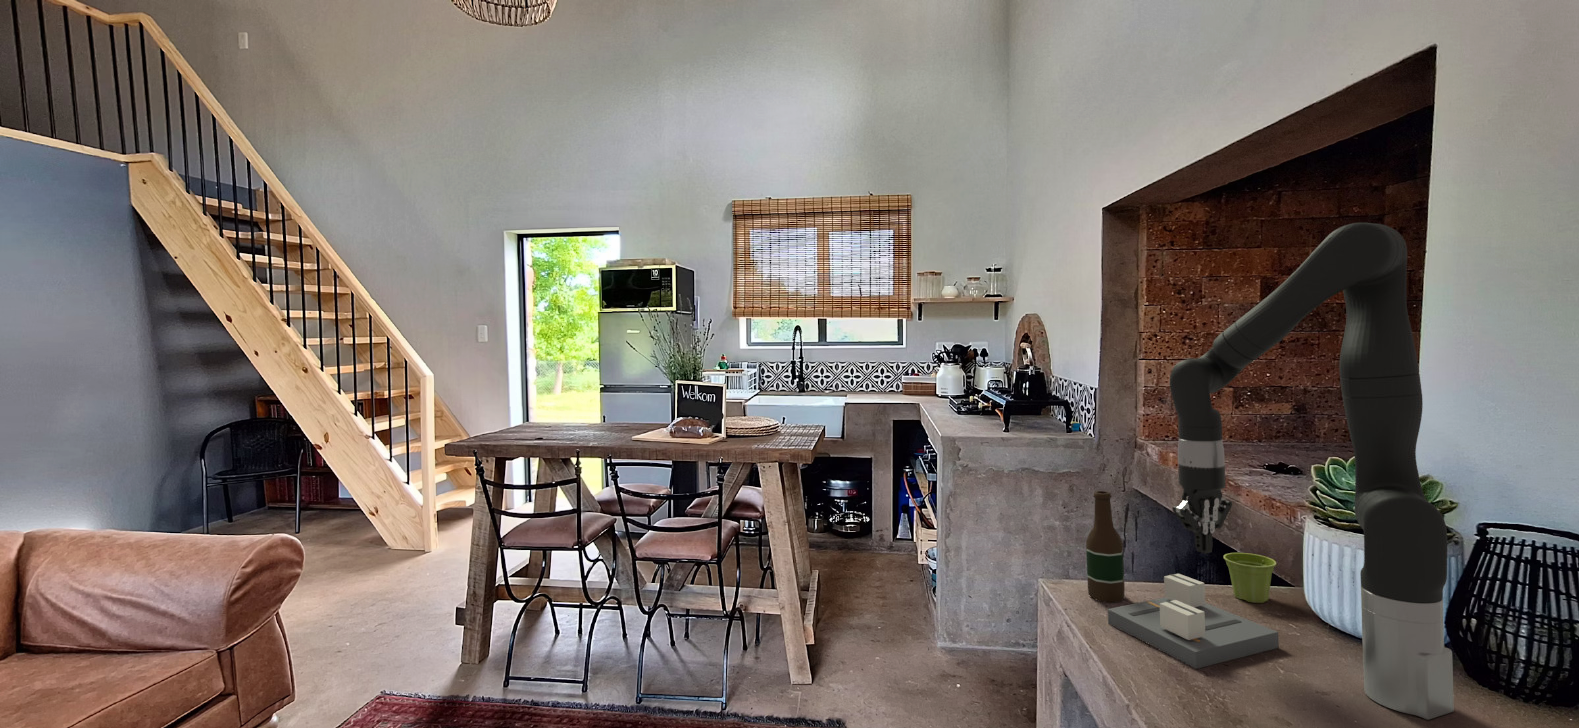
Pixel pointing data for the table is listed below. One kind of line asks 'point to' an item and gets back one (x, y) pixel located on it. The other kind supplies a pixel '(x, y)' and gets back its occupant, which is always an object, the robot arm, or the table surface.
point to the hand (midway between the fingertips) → (1204, 551)
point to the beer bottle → (1104, 554)
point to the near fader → (1182, 619)
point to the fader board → (1219, 644)
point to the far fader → (1184, 590)
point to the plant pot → (1250, 576)
